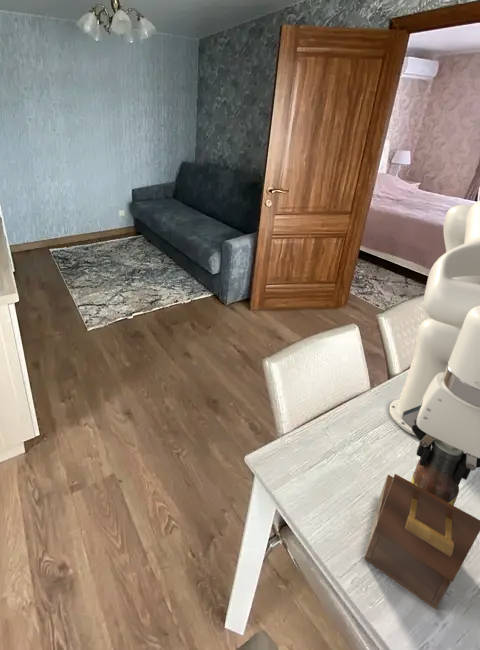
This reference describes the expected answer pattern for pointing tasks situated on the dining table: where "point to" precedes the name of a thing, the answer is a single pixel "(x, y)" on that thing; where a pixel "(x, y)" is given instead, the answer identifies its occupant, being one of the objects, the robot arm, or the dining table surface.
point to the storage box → (404, 563)
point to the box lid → (427, 527)
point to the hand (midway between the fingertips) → (439, 467)
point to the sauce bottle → (439, 471)
